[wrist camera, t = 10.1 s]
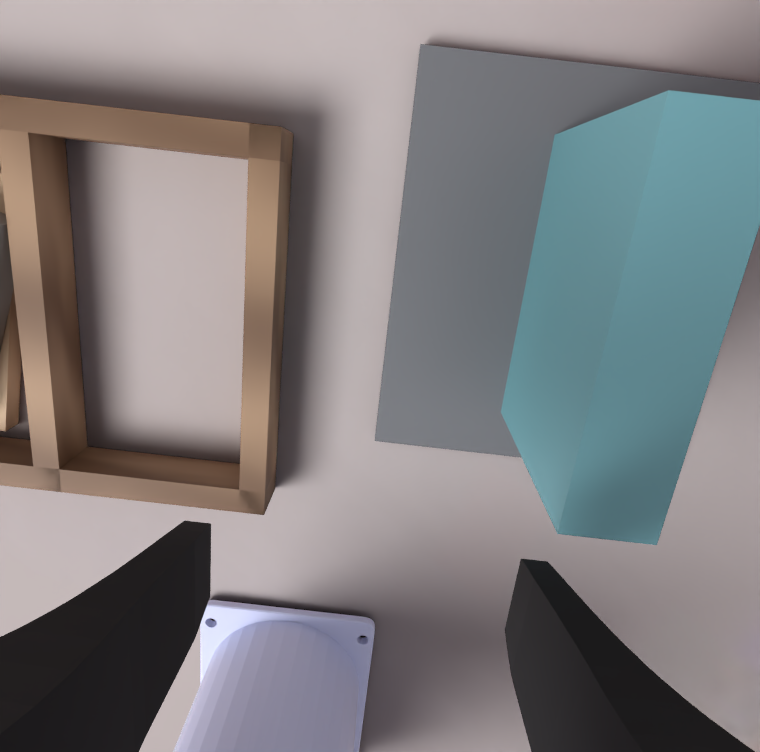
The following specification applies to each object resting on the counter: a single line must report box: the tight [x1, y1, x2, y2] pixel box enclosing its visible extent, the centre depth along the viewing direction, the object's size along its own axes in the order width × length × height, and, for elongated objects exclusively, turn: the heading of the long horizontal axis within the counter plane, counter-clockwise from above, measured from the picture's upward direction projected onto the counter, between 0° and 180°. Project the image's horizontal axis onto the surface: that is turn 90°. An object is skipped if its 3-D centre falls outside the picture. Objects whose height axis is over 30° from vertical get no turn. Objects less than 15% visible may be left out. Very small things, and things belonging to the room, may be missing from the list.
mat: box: [375, 44, 760, 458], centre depth 20 cm, size 14×12×1 cm
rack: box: [0, 95, 293, 515], centre depth 20 cm, size 14×16×2 cm
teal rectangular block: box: [501, 90, 760, 545], centre depth 16 cm, size 10×2×8 cm, turn 174°
